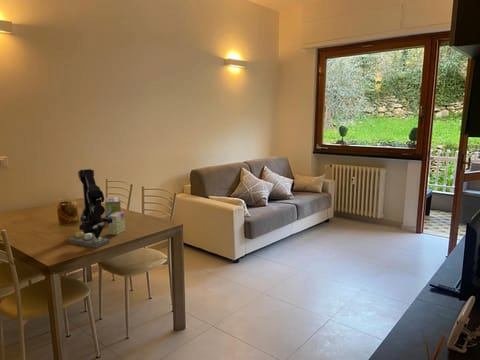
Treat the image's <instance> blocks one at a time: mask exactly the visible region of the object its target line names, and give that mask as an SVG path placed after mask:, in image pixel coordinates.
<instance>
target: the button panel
mask: <svg viewBox="0 0 480 360" xmlns="http://www.w3.org/2000/svg"><path fill="white" fill-rule="evenodd" d="M92 238H96V237H95V235H92ZM101 240H102V241H101V242H98V243H96V242H94V240H93V239H92V240H85V238H80V239H77V238H76V235H74V236H70V237H68V238H67V242H68V243H71V244H76V245H79V246H80V245H81V246H85V247H88V248H89V247H90V248H95V249H97V248H100V247H102V246H105V245H106V244H110V243H111V242H110V239H109V238H104V237H101Z"/></svg>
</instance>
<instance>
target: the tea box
mask: <svg viewBox="0 0 480 360" xmlns="http://www.w3.org/2000/svg"><path fill="white" fill-rule="evenodd" d="M121 206H122V205H121V199H120V196H119V197H118V196H117V197H116V196H115V197H104V209H105V212H104V215H105V217H108V216H109V215H111V214H113V213H115V212H122V209H121V208H122V207H121ZM105 223H106V224H108V223H107V222H105Z"/></svg>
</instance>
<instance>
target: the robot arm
mask: <svg viewBox="0 0 480 360" xmlns="http://www.w3.org/2000/svg"><path fill="white" fill-rule="evenodd" d="M77 177H78V179H79V181H80V182H81V184H82V192H83V193H82V194H83V209H82V211H81V215H80V225H79V231H83V232H84V234H86V233H92V234H93V236H95V237H96V238H97V239H98V238H99V237H101V233H102V231H103V229H104V227H106V225H104V224H105V223H106V222H107V223H106V224H109V223H112V218H110V217H106V216H104V217H102V215H104V214H105V206H103V204H102V203H105V195H104V192H103V191H102V190H101V188H100V186H98V185H97V183H96V180H95V169H91V168H88V169H79V170H78V171H77Z"/></svg>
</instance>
